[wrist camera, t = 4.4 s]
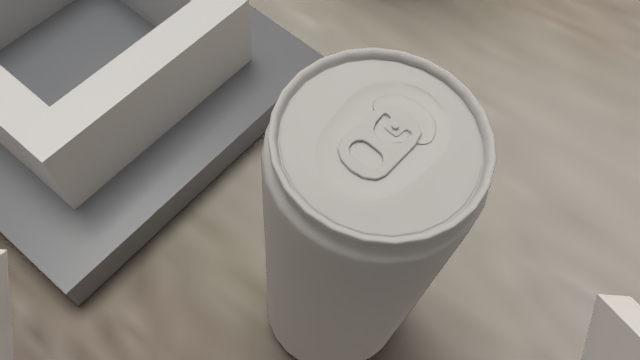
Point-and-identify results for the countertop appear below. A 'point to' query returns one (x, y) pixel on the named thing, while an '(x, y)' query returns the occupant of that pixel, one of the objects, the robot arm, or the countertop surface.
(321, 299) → the beverage can
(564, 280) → the countertop surface
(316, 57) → the socket plate
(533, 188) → the countertop surface
